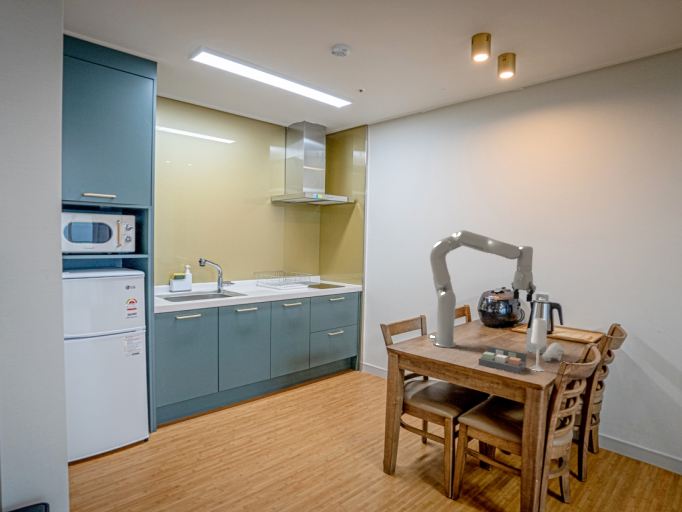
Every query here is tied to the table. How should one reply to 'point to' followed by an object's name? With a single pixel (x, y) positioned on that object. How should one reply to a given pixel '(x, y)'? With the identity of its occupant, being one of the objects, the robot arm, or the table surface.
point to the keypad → (505, 365)
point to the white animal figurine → (553, 352)
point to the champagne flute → (538, 339)
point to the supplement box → (529, 345)
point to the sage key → (488, 355)
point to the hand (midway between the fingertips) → (522, 300)
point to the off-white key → (501, 358)
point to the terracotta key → (514, 361)
